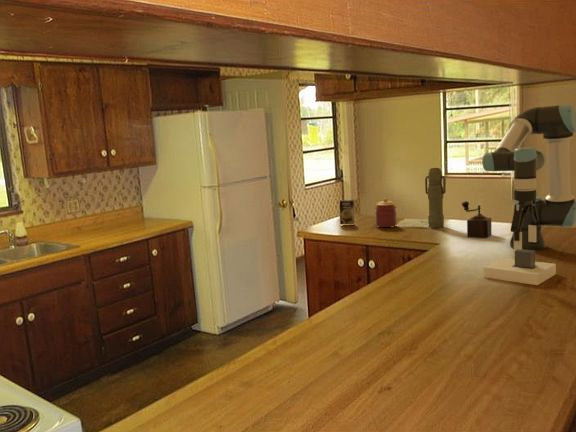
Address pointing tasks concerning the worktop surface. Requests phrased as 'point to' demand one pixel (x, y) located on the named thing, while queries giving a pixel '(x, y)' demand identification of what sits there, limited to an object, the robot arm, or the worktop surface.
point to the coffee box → (347, 212)
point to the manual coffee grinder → (477, 224)
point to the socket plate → (519, 271)
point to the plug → (525, 259)
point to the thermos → (435, 197)
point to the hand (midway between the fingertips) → (525, 245)
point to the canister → (386, 213)
